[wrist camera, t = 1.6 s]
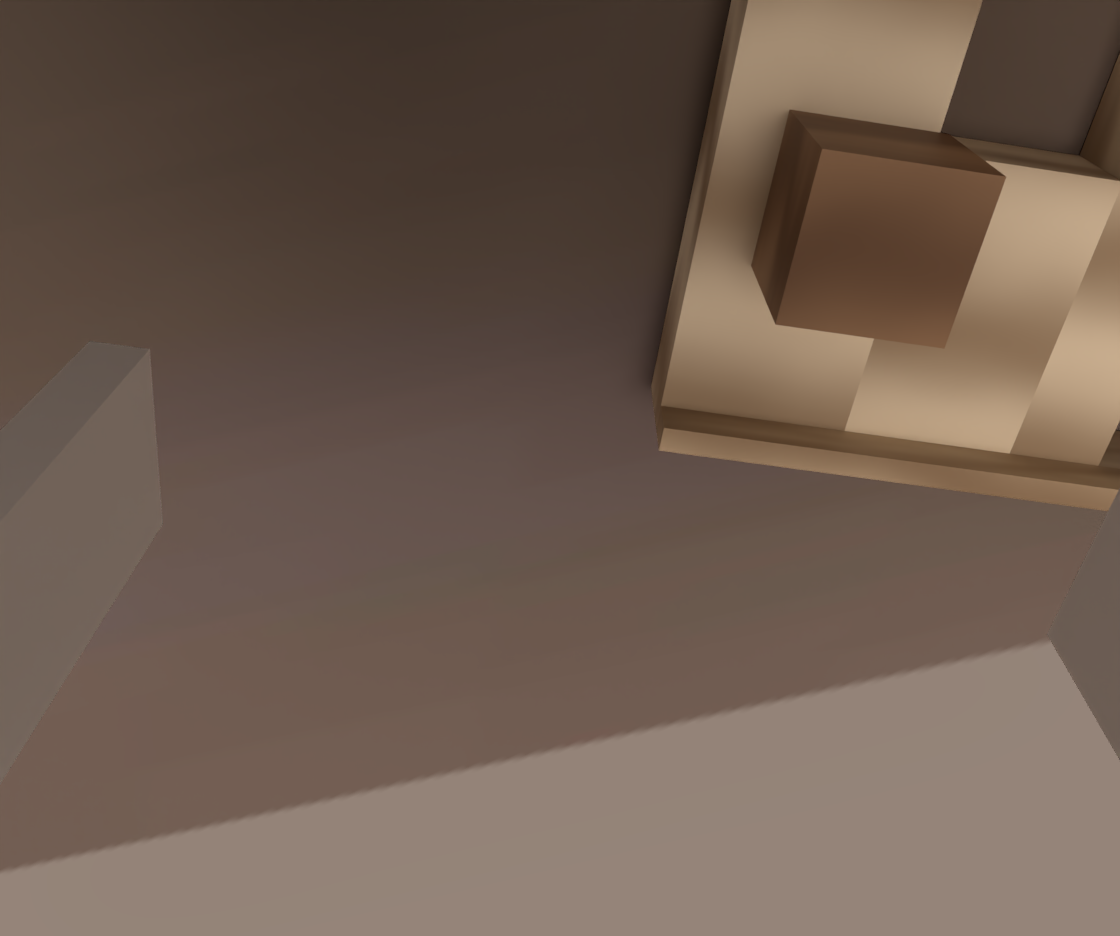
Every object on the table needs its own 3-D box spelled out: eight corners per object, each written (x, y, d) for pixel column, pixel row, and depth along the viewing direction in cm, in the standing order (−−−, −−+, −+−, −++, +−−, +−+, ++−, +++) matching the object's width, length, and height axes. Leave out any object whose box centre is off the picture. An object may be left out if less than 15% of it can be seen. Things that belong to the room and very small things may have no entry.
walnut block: (789, 109, 28) (822, 148, 24) (949, 134, 29) (1006, 176, 25) (750, 265, 31) (775, 324, 27) (899, 287, 31) (944, 348, 27)
